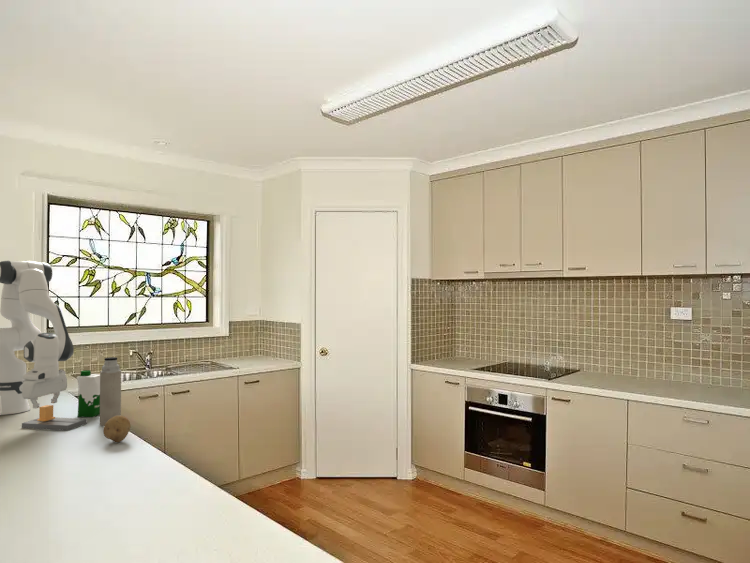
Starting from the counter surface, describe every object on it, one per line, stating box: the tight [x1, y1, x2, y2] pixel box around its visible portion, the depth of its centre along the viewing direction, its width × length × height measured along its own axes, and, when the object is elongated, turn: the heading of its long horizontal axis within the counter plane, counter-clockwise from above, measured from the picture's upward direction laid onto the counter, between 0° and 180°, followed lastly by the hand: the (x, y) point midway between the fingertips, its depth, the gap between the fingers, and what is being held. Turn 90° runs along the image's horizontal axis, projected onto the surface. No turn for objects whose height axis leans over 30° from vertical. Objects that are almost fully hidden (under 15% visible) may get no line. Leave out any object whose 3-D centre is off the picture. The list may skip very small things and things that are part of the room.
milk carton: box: [76, 369, 100, 418], centre depth 236 cm, size 9×9×20 cm
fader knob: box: [36, 404, 56, 421], centre depth 218 cm, size 4×5×6 cm
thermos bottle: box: [99, 356, 122, 427], centre depth 221 cm, size 8×8×28 cm
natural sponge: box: [103, 415, 132, 444], centre depth 194 cm, size 9×9×10 cm
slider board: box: [21, 416, 88, 432], centre depth 217 cm, size 21×11×2 cm, turn 80°
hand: (45, 405), depth 218 cm, fingers open, 8 cm apart
